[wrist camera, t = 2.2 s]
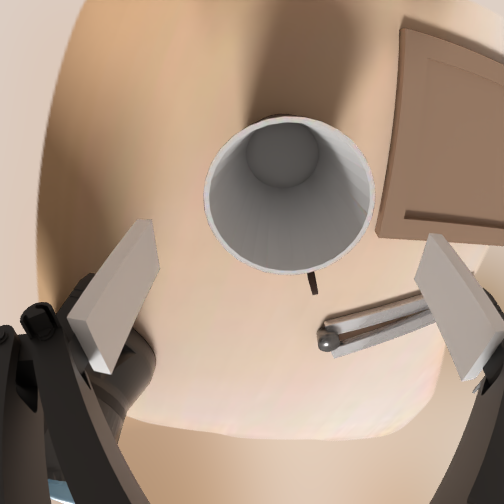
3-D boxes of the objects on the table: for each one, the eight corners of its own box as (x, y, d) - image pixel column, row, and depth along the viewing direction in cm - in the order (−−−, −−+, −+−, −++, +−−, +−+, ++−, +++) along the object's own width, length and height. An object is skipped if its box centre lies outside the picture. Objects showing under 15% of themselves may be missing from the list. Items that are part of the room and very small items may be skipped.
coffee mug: (235, 92, 21) (213, 103, 13) (347, 113, 21) (395, 140, 13) (218, 226, 27) (196, 302, 19) (314, 241, 28) (331, 320, 19)
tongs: (321, 350, 36) (323, 362, 34) (313, 323, 33) (314, 335, 32) (465, 307, 31) (471, 317, 30) (470, 277, 29) (477, 287, 27)
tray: (374, 231, 27) (378, 237, 26) (399, 29, 17) (405, 27, 16) (508, 241, 26) (514, 246, 25) (542, 89, 17) (550, 91, 16)
